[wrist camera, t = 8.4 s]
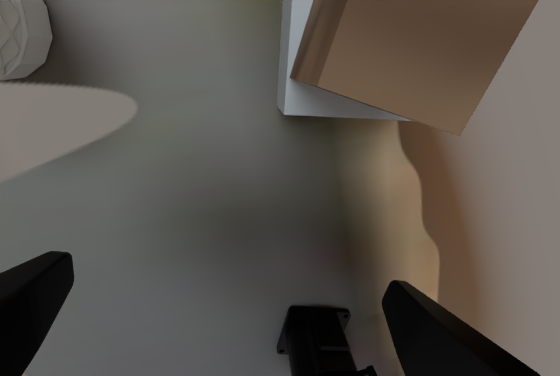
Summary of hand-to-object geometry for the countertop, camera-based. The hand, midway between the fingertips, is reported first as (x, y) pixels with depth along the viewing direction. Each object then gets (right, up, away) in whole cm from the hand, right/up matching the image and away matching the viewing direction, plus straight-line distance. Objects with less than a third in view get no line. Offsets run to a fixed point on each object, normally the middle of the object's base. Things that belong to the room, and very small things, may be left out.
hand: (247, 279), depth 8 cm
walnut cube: (+5, +10, +6) cm, 13 cm away
